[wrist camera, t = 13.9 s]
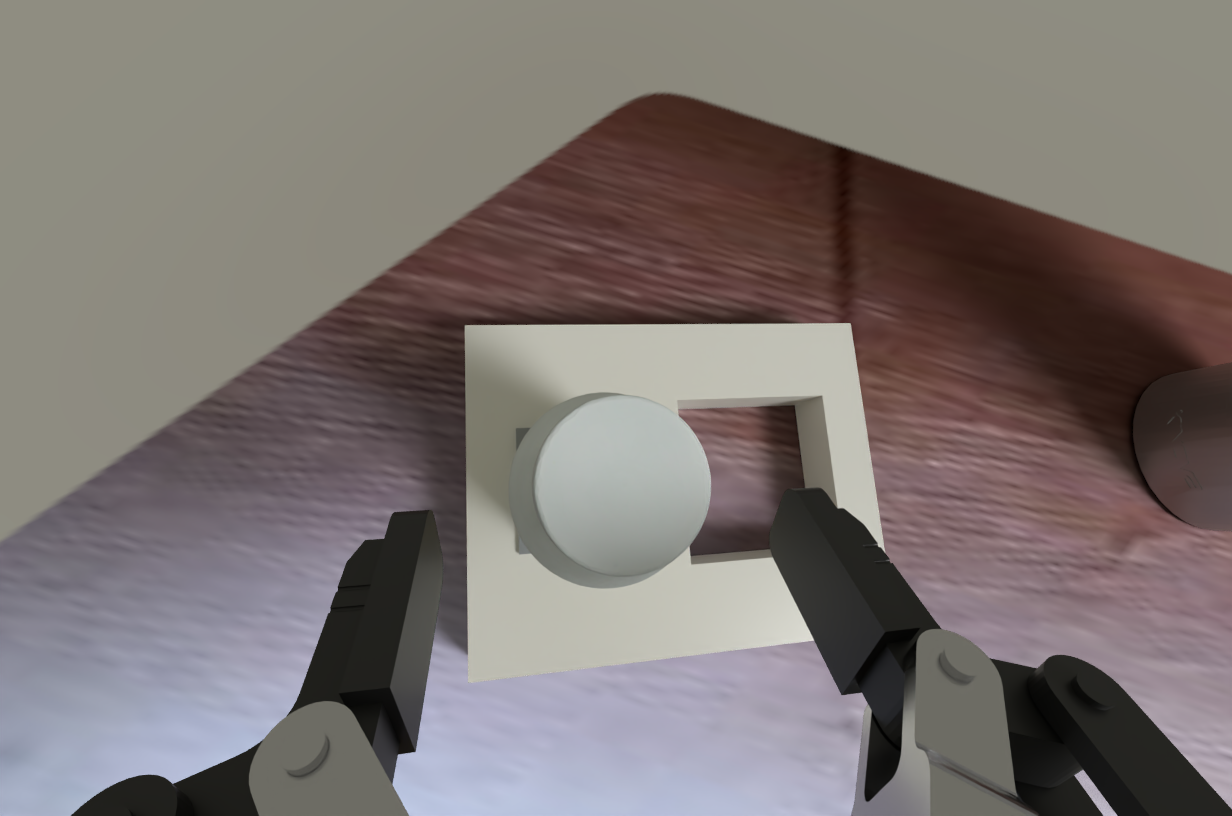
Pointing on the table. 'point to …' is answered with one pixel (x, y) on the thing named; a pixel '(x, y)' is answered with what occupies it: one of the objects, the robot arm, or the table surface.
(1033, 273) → the table surface
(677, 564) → the socket dock
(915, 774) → the robot arm
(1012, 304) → the table surface
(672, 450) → the supplement bottle
